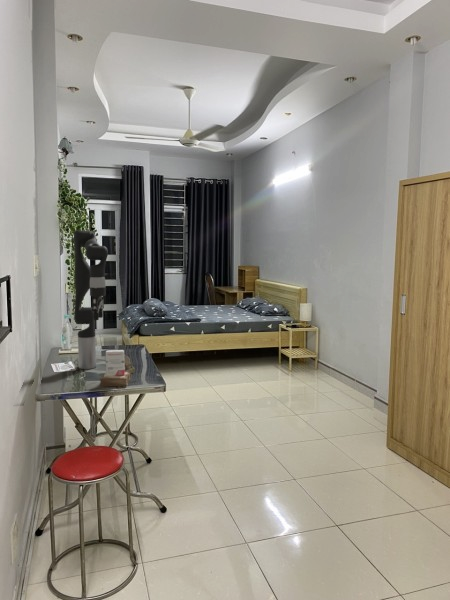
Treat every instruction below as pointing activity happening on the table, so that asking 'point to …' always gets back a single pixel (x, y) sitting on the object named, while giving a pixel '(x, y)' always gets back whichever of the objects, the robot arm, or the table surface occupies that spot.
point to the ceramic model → (128, 365)
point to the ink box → (115, 362)
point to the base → (116, 380)
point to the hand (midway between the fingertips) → (98, 318)
